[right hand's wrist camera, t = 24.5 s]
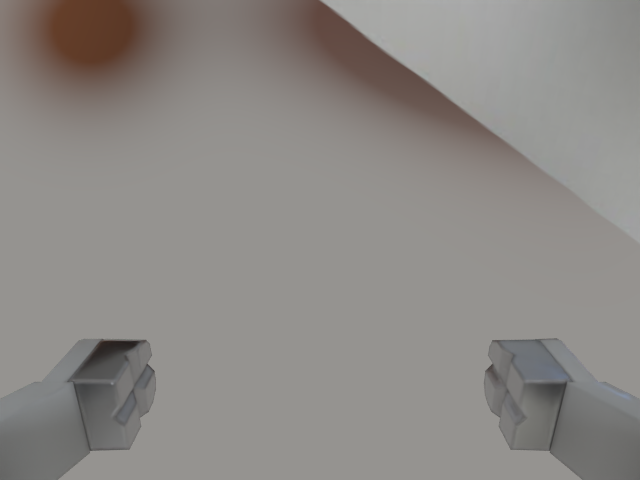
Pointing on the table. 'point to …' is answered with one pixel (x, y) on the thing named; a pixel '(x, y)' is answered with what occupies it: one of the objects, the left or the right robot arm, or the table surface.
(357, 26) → the table surface
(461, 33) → the table surface
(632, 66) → the table surface
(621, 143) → the table surface
